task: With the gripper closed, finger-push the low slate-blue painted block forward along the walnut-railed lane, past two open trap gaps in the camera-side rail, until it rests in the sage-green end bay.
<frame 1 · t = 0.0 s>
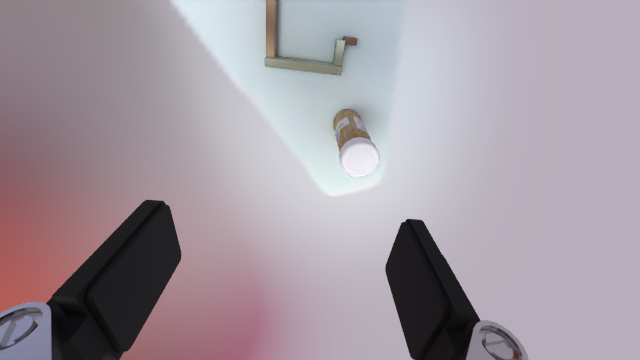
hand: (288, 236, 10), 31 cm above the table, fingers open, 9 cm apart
sprinkles bottle: (346, 122, 40), on the table
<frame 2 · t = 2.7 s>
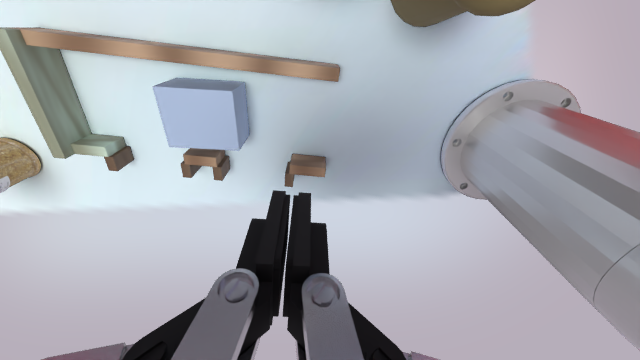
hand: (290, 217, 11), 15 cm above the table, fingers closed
sprinkles bottle: (20, 156, 26), on the table
lane: (201, 106, 23), on the table
block: (215, 107, 24), on the table
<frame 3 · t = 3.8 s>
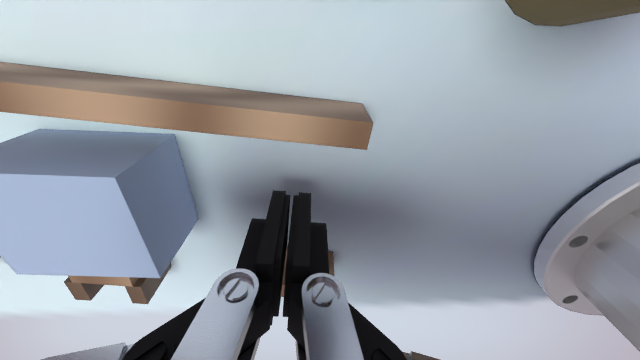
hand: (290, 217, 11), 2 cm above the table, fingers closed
lane: (100, 176, 12), on the table
block: (129, 177, 13), on the table
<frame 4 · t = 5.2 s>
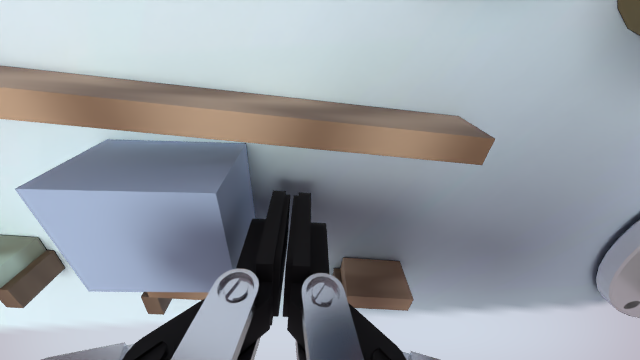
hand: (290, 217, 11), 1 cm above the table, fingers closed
lane: (179, 189, 12), on the table
block: (191, 187, 12), on the table
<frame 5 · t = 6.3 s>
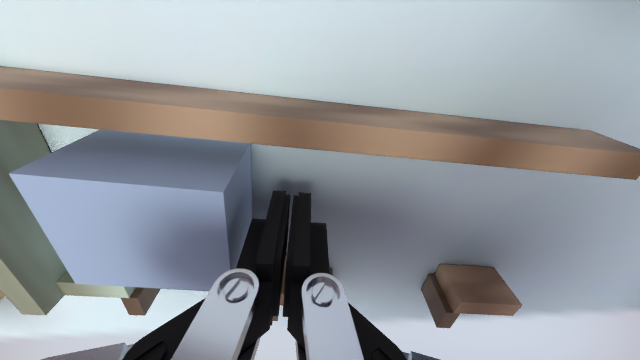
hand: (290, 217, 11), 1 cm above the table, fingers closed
lane: (303, 200, 13), on the table
block: (189, 182, 12), on the table, touching gripper
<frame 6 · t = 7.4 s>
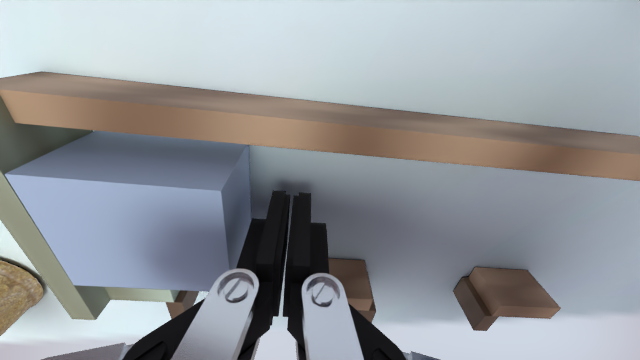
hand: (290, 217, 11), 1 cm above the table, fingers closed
sprinkles bottle: (7, 276, 15), on the table
lane: (346, 205, 13), on the table
block: (187, 182, 12), on the table
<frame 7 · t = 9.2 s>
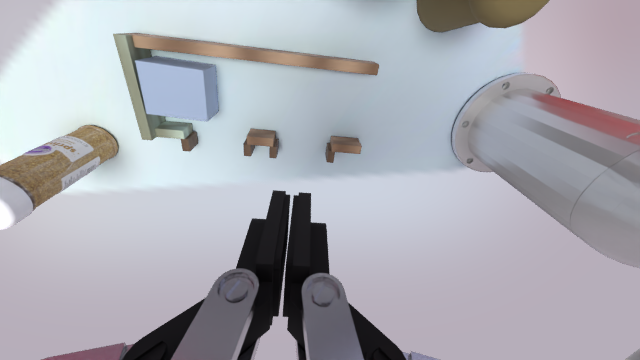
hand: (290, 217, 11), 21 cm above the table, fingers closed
sprinkles bottle: (100, 141, 31), on the table
lane: (260, 96, 29), on the table
block: (190, 84, 28), on the table
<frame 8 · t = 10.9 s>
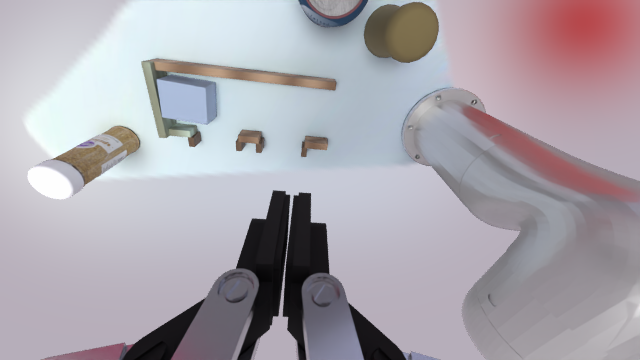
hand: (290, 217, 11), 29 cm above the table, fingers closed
sprinkles bottle: (125, 138, 40), on the table
cork: (386, 32, 33), on the table
lane: (249, 105, 37), on the table
block: (195, 96, 37), on the table
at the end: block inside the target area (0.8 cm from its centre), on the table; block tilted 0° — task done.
